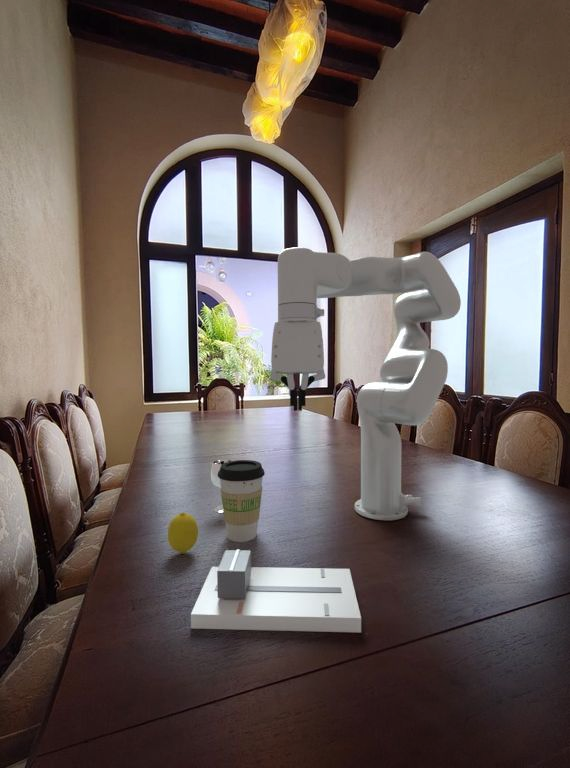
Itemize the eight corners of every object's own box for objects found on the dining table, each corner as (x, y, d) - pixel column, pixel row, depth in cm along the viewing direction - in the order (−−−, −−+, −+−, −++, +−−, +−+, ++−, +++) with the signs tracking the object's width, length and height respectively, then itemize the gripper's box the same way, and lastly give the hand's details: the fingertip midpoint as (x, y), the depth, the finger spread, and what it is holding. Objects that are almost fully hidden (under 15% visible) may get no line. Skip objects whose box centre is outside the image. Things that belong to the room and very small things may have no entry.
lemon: (186, 543, 75) (186, 504, 74) (204, 552, 71) (203, 511, 71) (162, 554, 70) (161, 513, 70) (179, 564, 67) (178, 521, 66)
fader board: (349, 580, 61) (349, 568, 61) (361, 632, 49) (361, 617, 49) (212, 578, 62) (212, 565, 62) (191, 628, 50) (190, 613, 50)
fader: (250, 574, 59) (250, 549, 59) (245, 598, 53) (244, 570, 53) (226, 574, 59) (225, 549, 59) (217, 598, 53) (217, 570, 53)
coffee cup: (220, 549, 72) (219, 473, 71) (216, 528, 82) (215, 461, 81) (269, 542, 75) (269, 469, 74) (260, 522, 84) (259, 457, 84)
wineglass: (230, 514, 89) (229, 465, 89) (207, 512, 90) (206, 464, 90) (237, 505, 95) (237, 459, 94) (216, 504, 96) (215, 458, 95)
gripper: (334, 317, 75) (334, 407, 76) (261, 318, 76) (261, 407, 76) (338, 312, 67) (338, 412, 68) (256, 313, 68) (257, 412, 69)
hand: (297, 409), depth 72 cm, fingers closed
